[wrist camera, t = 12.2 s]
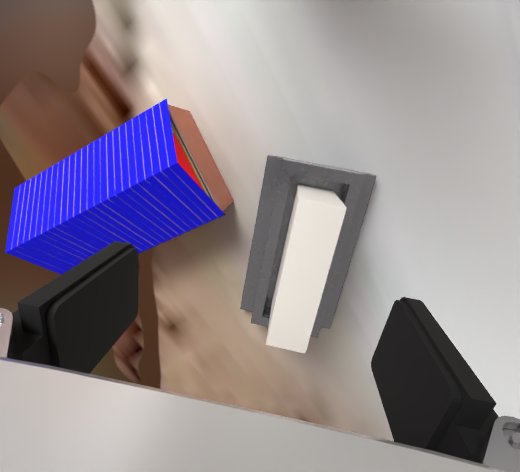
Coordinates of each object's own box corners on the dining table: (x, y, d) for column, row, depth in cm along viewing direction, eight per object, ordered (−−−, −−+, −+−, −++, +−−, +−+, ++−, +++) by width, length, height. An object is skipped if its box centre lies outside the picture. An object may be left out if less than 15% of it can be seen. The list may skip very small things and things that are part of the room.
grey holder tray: (269, 154, 33) (265, 156, 29) (372, 174, 32) (383, 178, 29) (242, 302, 40) (236, 319, 36) (328, 321, 39) (332, 341, 35)
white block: (297, 183, 32) (298, 198, 24) (333, 190, 32) (346, 207, 24) (272, 298, 37) (265, 344, 29) (302, 305, 37) (305, 353, 28)
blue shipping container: (237, 202, 35) (211, 228, 24) (112, 259, 40) (42, 303, 29) (191, 107, 33) (138, 88, 22) (62, 180, 37) (-36, 196, 26)
